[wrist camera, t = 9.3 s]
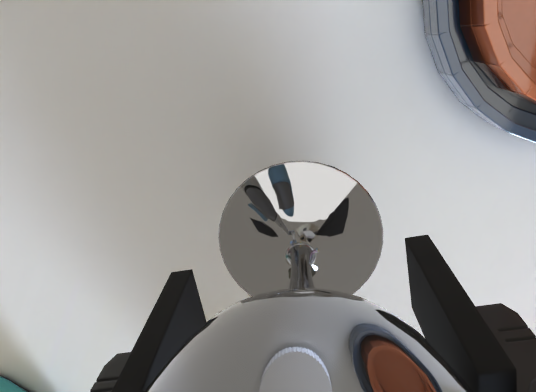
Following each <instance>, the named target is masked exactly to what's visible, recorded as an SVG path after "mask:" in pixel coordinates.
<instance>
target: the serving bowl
mask: <svg viewBox="0 0 536 392" xmlns="http://www.w3.org/2000/svg"><path fill="white" fill-rule="evenodd" d="M423 13H424V27H425V36H426V39H427V42H428V45H429V47H430V50H431V53H432V56H433V59H434V61H435V64H436V67H437V70H438V71H439V74H440V75H441V76H442V78H443V79H444V80H445V82H446V83H447V85H448V86H449V87H450V89H451V90H452V91H453V93H454V94H455V96H456V97H457V98H458V100H459V101H460V102H461V103H462V104H464V105H465V106H466V107H468V108H469V109H470V110H472V111H473V112H474V113H476V114H477V115H478V116H480V117H481V118H482V119H484V120H485V121H486V122H487V123H489V124H491V125H493V126H495V127H497V128H499V129H501V130H503V131H506V132H508V133H510V134H513V135H516V136H518V137H521V138H524V139H526V140H529V141H532V142H535V143H536V105H533V104H530V103H527V102H525V101H523V100H521V99H519V98H517V97H515V96H513V95H511V94H509V93H507V92H505V91H504V90H502V89H500V88H498V87H497V86H496V85H495V84H494V83H493V82H492V81H491V80H490V79H489V78H488V76H487V75H486V74H485V73H484V72H483V71H482V70H481V69H480V67H479V66H478V65H477V64H476V63H475V62H474V60H473V58H472V55H471V53H470V50H469V48H468V45H467V43H466V40H465V38H464V35H463V32H462V30H461V27H460V16H459V0H423Z"/></svg>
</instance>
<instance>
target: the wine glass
mask: <svg viewBox="0 0 536 392" xmlns="http://www.w3.org/2000/svg"><path fill="white" fill-rule="evenodd" d="M219 245H220V252H221V255H222V258H223V261H224V263H225V265H226V267H227V269H228V271H229V273H230V275H231V276H232V277H233V278H234V280H235V281H236V282H237V283H238V285H239V286H240V287H242V288H243V289H244V290H245V291H246V292H247V293H248V294H250V295H251V296H253V297H250V298H247V299H245V300H242V301H239V302H237V303H235V304H233V305H231V306H230V307H228V308H226V309H225V310H223V311H221V312H219V313H218V314H216V315H215V316H214V317H213V318H211V319H210V320H209V321H208V322H207V323H205V324H204V325H203V326H202V327H201V328H200V329H198V330H197V331H196V332H195V333H194V334H193V335H191V336H190V337H189V338H188V339H187V340H185V342H184V343H183V344H182V345H181V347H180V348H179V349H178V350H177V352H176V353H175V354H174V355H173V356H172V358H171V359H170V360H169V361H168V363H167V364H166V365H165V366H164V367H163V369H162V370H161V371H160V373H159V374H158V375H157V376H156V378H155V379H154V380H153V381H152V383H151V384H150V385H149V386H148V388H147V389H146V391H145V392H473V391H472V390H471V388H470V387H469V386H468V384H467V383H466V382H465V380H464V379H463V378H462V377H461V376H460V375H459V374H458V373H457V372H456V370H455V369H454V368H453V367H452V366H451V365H450V364H449V363H448V362H447V361H446V360H445V359H444V357H443V356H442V355H441V354H440V353H439V352H438V351H437V350H436V349H435V348H434V347H433V346H432V345H431V344H430V343H429V342H428V341H427V340H426V339H425V338H424V337H423V336H422V335H421V334H420V333H419V332H417V331H416V330H415V329H413V328H412V327H411V326H409V325H408V324H407V323H405V322H404V321H403V320H401V319H400V318H398V317H397V316H395V315H394V314H392V313H391V312H389V311H388V310H386V309H385V308H383V307H381V306H379V305H377V304H375V303H372V302H370V301H368V300H366V299H364V298H361V297H358V296H354V295H352V294H353V293H355V292H356V291H357V290H359V289H360V288H361V286H362V285H363V284H364V283H365V282H366V281H367V280H368V279H369V277H370V276H371V274H372V272H373V271H374V269H375V268H376V265H377V263H378V260H379V258H380V255H381V250H382V245H383V227H382V221H381V216H380V214H379V211H378V209H377V206H376V204H375V202H374V201H373V199H372V198H371V196H370V195H369V193H368V192H367V191H366V190H365V189H364V187H363V186H362V185H361V184H360V183H359V182H358V181H356V180H355V179H354V178H352V177H351V176H349V175H348V174H347V173H345V172H343V171H341V170H339V169H337V168H335V167H332V166H329V165H325V164H322V163H318V162H310V161H292V162H284V163H280V164H276V165H272V166H270V167H268V168H265V169H263V170H261V171H259V172H257V173H256V174H254V175H252V176H251V177H249V178H248V179H247V180H245V181H244V182H243V183H242V184H241V185H240V186H239V187H238V188H237V189H236V190H235V192H234V193H233V195H232V196H231V197H230V199H229V200H228V202H227V204H226V206H225V208H224V211H223V213H222V217H221V221H220V225H219Z"/></svg>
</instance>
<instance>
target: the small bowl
mask: <svg viewBox="0 0 536 392" xmlns="http://www.w3.org/2000/svg"><path fill="white" fill-rule="evenodd" d="M459 16H460V27H461V30H462V32H463V35H464V38H465V40H466V43H467V45H468V48H469V50H470V53H471V55H472V58H473V60H474V62H475V63H476V64H477V65H478V66H479V67H480V69H481V70H482V71H483V72H484V73H485V74H486V75H487V76H488V78H489V79H490V80H491V81H492V82H493V83H494V84H495V85H496V86H497V87H498V88H500V89H502V90H504V91H505V92H507V93H509V94H511V95H513V96H515V97H517V98H519V99H521V100H523V101H525V102H527V103H530V104H533V105H536V0H459Z"/></svg>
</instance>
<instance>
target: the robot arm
mask: <svg viewBox="0 0 536 392" xmlns="http://www.w3.org/2000/svg"><path fill="white" fill-rule="evenodd" d="M405 244H406V254H407V264H408V273H409V283H410V293H411V303H412V309H413V311H414V313H415V316H416V318H417V320H418V323H419V325H420V327H421V330H422V332H423V334H424V336H425V339H426V340H427V341H428V342H429V343H430V344H431V345H432V346H433V347H434V348H435V349H436V350H437V351H438V352H439V353H440V354H441V355H442V356H443V357H444V359H445V360H446V361H447V362H448V363H449V364H450V365H451V366H452V367H453V368H454V369H455V370H456V372H457V373H458V374H459V375H460V376H461V377H462V378H463V379H464V380H465V382H466V383H467V384H468V386H469V387H470V388H471V390H472V391H473V392H536V336H535V335H534V333H533V332H532V331H531V330H530V328H528V327H527V325H526V323H525V322H524V321H523V320H522V318H521V317H520V316H519V314H518V313H516V312H515V311H513V310H511V309H510V308H508V307H506V306H505V305H503V304H501V303H500V304H492V305H484V306H477V307H475V306H474V304H473V303H472V301H471V299H470V298H469V296H468V295H467V293H466V292H465V290H464V289H463V287H462V286H461V284H460V283H459V281H458V280H457V278H456V277H455V275H454V274H453V272H452V271H451V269H450V268H449V266H448V265H447V263H446V262H445V260H444V259H443V257H442V256H441V254H440V252H439V251H438V249H437V248H436V246H435V245H434V243H433V242H432V240H431V239H430V237H429V236H428V235H423V236H416V237H409V238H405ZM205 323H206V319H205V315H204V312H203V308H202V304H201V301H200V297H199V293H198V290H197V286H196V282H195V279H194V275H193V271H192V269H191V270H185V271H178V272H171V274H170V276H169V278H168V280H167V282H166V284H165V286H164V288H163V290H162V292H161V294H160V296H159V298H158V300H157V302H156V304H155V306H154V308H153V310H152V312H151V314H150V316H149V318H148V320H147V322H146V324H145V326H144V328H143V330H142V332H141V334H140V336H139V338H138V340H137V342H136V344H135V346H134V348H133V350H132V352H128V353H120V354H117V355H116V356H115V357H113V358H112V359H111V360H110V361H109V362H108V363H107V364H106V365H105V366H104V368H103V369H102V371H101V373H100V375H99V376H98V378H97V382H95V384H94V385H93V387H92V389H91V392H145V391H146V389H147V388H148V386H149V385H150V384H151V383H152V381H153V380H154V379H155V378H156V376H157V375H158V374H159V373H160V371H161V370H162V369H163V367H164V366H165V365H166V364H167V363H168V361H169V360H170V359H171V358H172V356H173V355H174V354H175V353H176V352H177V350H178V349H179V348H180V347H181V345H182V344H183V343H184V342H185V340H187V339H188V338H189V337H190V336H191V335H193V334H194V333H195V332H196V331H197V330H198V329H200V328H201V327H202V326H203V325H204V324H205Z"/></svg>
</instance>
